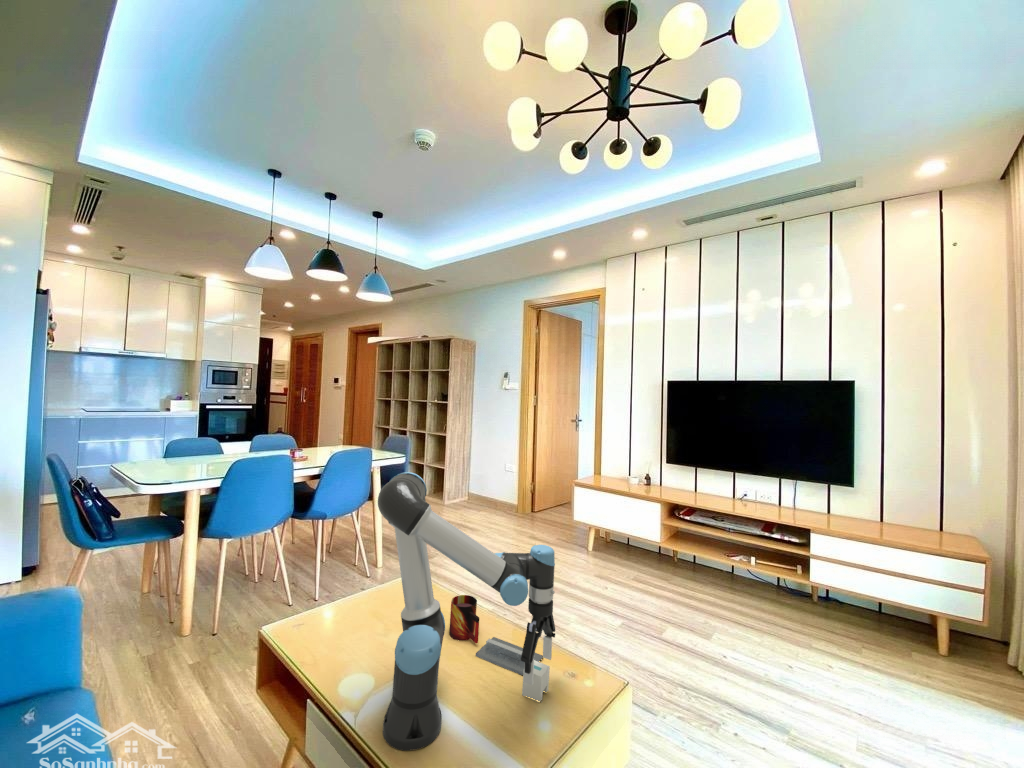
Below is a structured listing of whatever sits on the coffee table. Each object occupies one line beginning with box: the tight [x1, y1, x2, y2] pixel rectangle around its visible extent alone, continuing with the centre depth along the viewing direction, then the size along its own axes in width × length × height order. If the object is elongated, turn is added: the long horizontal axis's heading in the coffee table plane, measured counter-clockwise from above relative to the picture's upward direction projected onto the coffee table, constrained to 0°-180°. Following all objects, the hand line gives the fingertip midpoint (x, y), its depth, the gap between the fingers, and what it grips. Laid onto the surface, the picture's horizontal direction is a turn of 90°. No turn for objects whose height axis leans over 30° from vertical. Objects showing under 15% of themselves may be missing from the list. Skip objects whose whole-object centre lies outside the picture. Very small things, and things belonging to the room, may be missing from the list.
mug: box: [448, 594, 480, 644], centre depth 153 cm, size 10×14×12 cm
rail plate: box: [475, 636, 544, 676], centre depth 141 cm, size 12×20×3 cm, turn 62°
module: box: [521, 660, 551, 702], centre depth 125 cm, size 6×6×8 cm
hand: (538, 669), depth 125 cm, fingers open, 13 cm apart
